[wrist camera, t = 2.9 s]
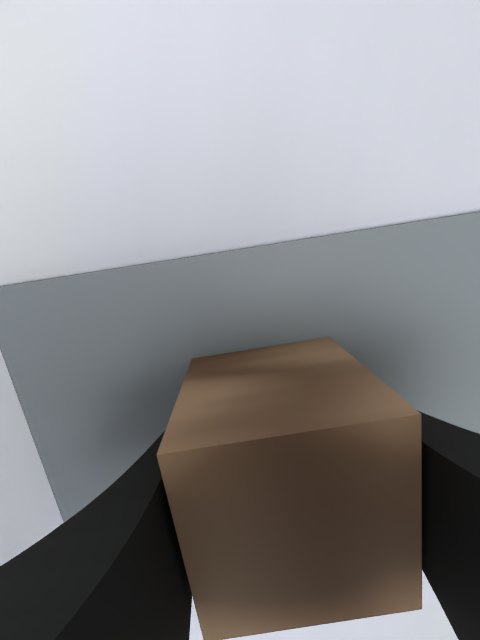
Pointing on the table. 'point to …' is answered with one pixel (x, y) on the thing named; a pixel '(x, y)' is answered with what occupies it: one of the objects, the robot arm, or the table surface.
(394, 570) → the walnut block
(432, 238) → the gray tile
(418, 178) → the table surface
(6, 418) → the table surface
